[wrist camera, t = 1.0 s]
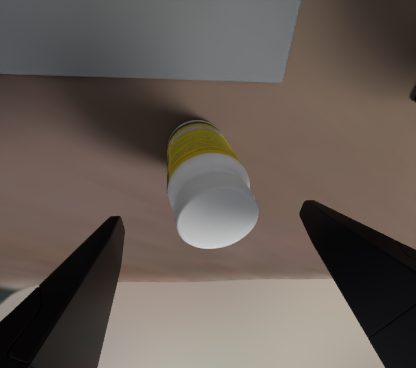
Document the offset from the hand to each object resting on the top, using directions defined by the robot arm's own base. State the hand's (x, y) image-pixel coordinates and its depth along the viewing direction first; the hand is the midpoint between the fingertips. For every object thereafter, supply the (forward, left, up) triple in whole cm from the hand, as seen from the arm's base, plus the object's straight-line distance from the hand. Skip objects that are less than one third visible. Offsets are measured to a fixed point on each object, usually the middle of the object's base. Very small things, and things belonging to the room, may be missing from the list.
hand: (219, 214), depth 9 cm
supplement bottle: (0, 0, -8) cm, 8 cm away
